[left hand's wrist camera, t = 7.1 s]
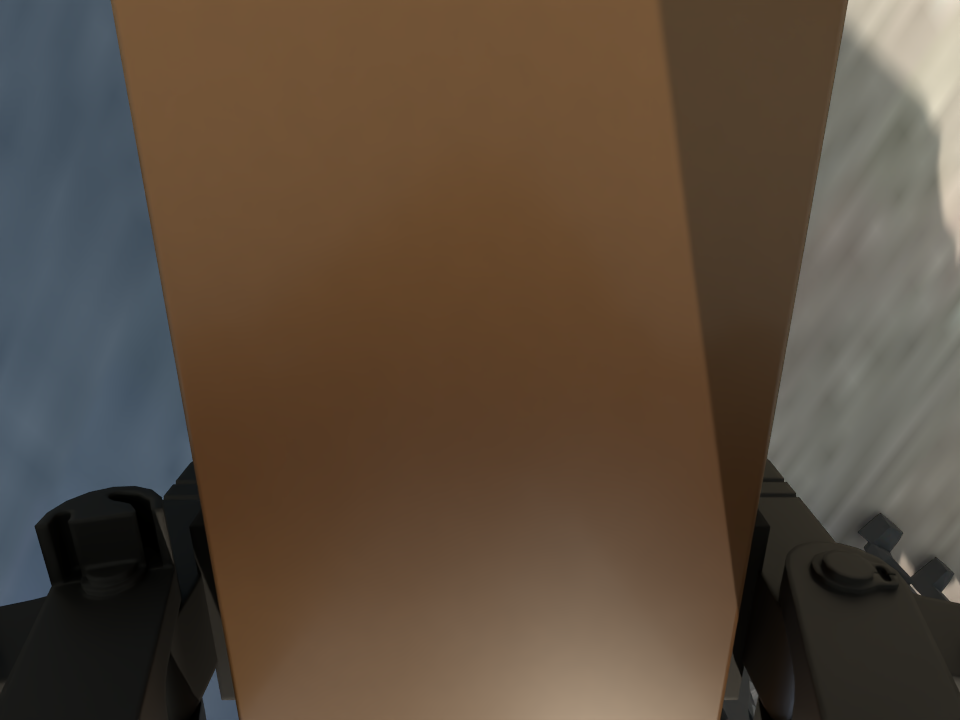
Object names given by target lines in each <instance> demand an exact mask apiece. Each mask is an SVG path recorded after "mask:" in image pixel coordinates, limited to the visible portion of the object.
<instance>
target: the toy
mask: <svg viewBox="0 0 960 720" xmlns="http://www.w3.org/2000/svg"><path fill="white" fill-rule="evenodd" d="M858 533H859V534H861V535H862V536H863V537H864V538H865V539H866V540H867V541H868V543H867V544H866V545H865V547H864V549H865V551H866V552H867V553H869V554H872V555H874V556H876V557H878V558H880V559H881V560H883V561H884V562H885V563H887V564H888V565H890V566H891V567H892V568H894V569H895V570H897V571H898V573H899V574H900V575H901V577H902V578H903V579H904V580H905V582H906V583H907V584H908V586H909V588H910V590H911V592H912V593H914V594H917V593H916V592H915V591H914V590H913V588H912V587H911V586H910V584H912V585H913V586H914V587H915V589H916V590H917V591H918V592H919V593H920V594H921V595H922V596H925V597H930V598H935V599H940V600H945V601H949V600H948V599H947V598H946V597H945V596H944V594H943V593H942V591H943V589H944V588H945V587H946V585H947V584H948V583H949V582H950V580H951V578H952V577H953V575H954V573H953V572H952V571H951V570H950V569H949V568H948V567H947V566H946V565H945V564H944V563H943V562H941V561H940V560H939V559H938V558H936V557H935V558H934V559H933V560H932V561H930V562H929V563H928V564H927V565H925V566H924V567H923V568H922V569H920V570H919V571H918V572H917V573H915V574H914V575H913V576H912V577H910V576H909V575H908V574H907V573H906V572H905V571H904V570H903V569H902V568H901V567H900V566H899V565H898V563H897V562H896V561H895V560H894V559H893V558H892V556H891V553H890V551H891V550H892V549H893V547H894V546H895V545H896V544H897V542H898V541H899V540H900V538H901V536H902V534H903V532H902V531H901V530H900V529H899V528H898V527H897V526H896V525H895V524H894V523H893V522H891V521H890V520H889V519H888V518H886V517H885V516H884V515H883V514H881V513H880V514H878V515H877V516H876V517H875V518H874V519H873V520H871V521H870V522H869V523H868V524H867V525H865V526H864V527H863V528H862V529H861V530H860V531H858ZM949 602H950V601H949ZM757 699H758V694H757V692H756V690H755V687H754V685H753V683H752V681H751V679H750V677H749V675H748V673H747V670H746V668H745V666H744V670H743V675H742V681H741V686H740V691H739V697H738V700H724V701H723V706H722V712H721V718H720V720H753V719H754V714H755V709H756V704H757Z"/></svg>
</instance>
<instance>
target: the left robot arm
mask: <svg viewBox="0 0 960 720" xmlns="http://www.w3.org/2000/svg"><path fill="white" fill-rule="evenodd" d="M35 529H36V533H37V536H38V540H39V543H40V547H41V550H42V554H43V557H44V561H45V564H46V568H47V571H48V574H49V578H50V581H51V585H52V587H51V589H50V591H49V593H48V595H47V596H46V597H42V598H38V599H34V600H30V601H25V602H20V603H15V604H10V605H6V606H1V607H0V720H206V715H205V709H204V704H203V699H202V696H203V694H204V692H205V690H206V688H207V686H208V684H209V681H210V679H211V677H212V675H213V673H214V671H215V669H216V672H217V678H218V683H219V688H220V694H221V699H222V700H236V699H235V694H234V688H233V683H232V677H231V671H230V666H229V660H228V655H227V649H226V643H225V638H224V632H223V627H222V621H221V615H220V610H219V604H218V599H217V593H216V587H215V582H214V576H213V571H212V565H211V559H210V554H209V548H208V542H207V537H206V531H205V526H204V520H203V514H202V509H201V503H200V498H199V492H198V486H197V481H196V475H195V470H194V464H193V462H191V463H190V464H189V465H188V467H187V468H186V469H185V470H184V472H183V473H182V474H181V475H180V477H179V478H178V479H177V480H176V484H173V485H172V487H171V488H170V489H169V490H168V491H167V493H166V494H165V495H164V500H162V497H161V496H159V495H158V494H157V493H156V492H154V491H153V490H151V489H146V488H142V487H137V486H124V487H111V488H106V489H101V490H97V491H92V492H88V493H86V494H83V495H81V496H78V497H76V498H73V499H70V500H68V501H66V502H64V503H62V504H61V505H59V506H57V507H56V508H54V509H53V510H51V511H49V512H48V513H46V514H45V516H44V517H43V518H42V519H41V520H40V521H39V522H38V523H37V524H36V525H35ZM744 666H745V668H746V670H747V673H748V675H749V677H750V679H751V681H752V683H753V685H754V687H755V690H756V692H757V694H758V699H757V704H756V709H755V714H754V719H753V720H960V604H959V603H954V602H949V601H945V600H940V599H935V598H930V597H925V596H922V595H918V594H914V593H912V592H911V590H910V588H909V586H908V584H907V583H906V582H905V580H904V579H903V578H902V577H901V575H900V574H899V573H898V571H897V570H895V569H894V568H892V567H891V566H890V565H888V564H887V563H885V562H884V561H883V560H881V559H880V558H878V557H876V556H874V555H872V554H869V553H867V552H865V551H863V550H861V549H858V548H856V547H852V546H848V545H844V544H840V543H836V542H835V541H834V540H833V538H832V537H831V536H830V535H829V534H828V532H827V531H826V530H825V529H824V527H823V526H822V525H821V524H820V522H819V521H818V520H817V519H816V517H815V516H814V515H813V514H812V513H811V511H810V510H809V509H808V508H807V506H806V505H805V504H804V503H803V501H802V500H801V499H800V498H799V497H796V493H795V492H794V490H793V489H792V488H791V487H790V485H789V484H788V483H787V482H784V478H783V477H782V476H781V474H780V473H779V472H778V471H777V469H776V468H775V467H774V466H773V464H772V463H771V462H770V461H769V460H768V459H766V465H765V471H764V476H763V482H762V487H761V493H760V499H759V504H758V510H757V515H756V521H755V527H754V532H753V538H752V544H751V549H750V555H749V560H748V566H747V572H746V577H745V583H744V588H743V594H742V600H741V605H740V611H739V617H738V622H737V628H736V633H735V639H734V645H733V650H732V656H731V661H730V667H729V673H728V678H727V684H726V690H725V695H724V700H738V697H739V691H740V686H741V681H742V675H743V670H744Z"/></svg>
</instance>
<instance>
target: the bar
mask: <svg viewBox="0 0 960 720" xmlns="http://www.w3.org/2000/svg"><path fill="white" fill-rule="evenodd" d="M111 4H112V10H113V16H114V21H115V27H116V32H117V38H118V44H119V49H120V55H121V60H122V66H123V72H124V77H125V83H126V88H127V94H128V100H129V105H130V111H131V116H132V122H133V128H134V133H135V139H136V144H137V150H138V156H139V161H140V167H141V172H142V178H143V184H144V189H145V195H146V201H147V206H148V212H149V217H150V223H151V229H152V234H153V240H154V245H155V251H156V257H157V262H158V268H159V273H160V279H161V285H162V290H163V296H164V301H165V307H166V313H167V318H168V324H169V329H170V335H171V341H172V346H173V352H174V357H175V363H176V369H177V374H178V380H179V386H180V391H181V397H182V402H183V408H184V414H185V419H186V425H187V430H188V436H189V442H190V447H191V453H192V458H193V464H194V470H195V475H196V481H197V486H198V492H199V498H200V503H201V509H202V514H203V520H204V526H205V531H206V537H207V542H208V548H209V554H210V559H211V565H212V571H213V576H214V582H215V587H216V593H217V599H218V604H219V610H220V615H221V621H222V627H223V632H224V638H225V643H226V649H227V655H228V660H229V666H230V671H231V677H232V683H233V688H234V694H235V699H236V705H237V711H238V716H239V720H720V718H721V712H722V706H723V701H724V695H725V690H726V684H727V678H728V673H729V667H730V661H731V656H732V650H733V645H734V639H735V633H736V628H737V622H738V617H739V611H740V605H741V600H742V594H743V588H744V583H745V577H746V572H747V566H748V560H749V555H750V549H751V544H752V538H753V532H754V527H755V521H756V515H757V510H758V504H759V499H760V493H761V487H762V482H763V476H764V471H765V465H766V459H767V454H768V448H769V442H770V437H771V431H772V426H773V420H774V414H775V409H776V403H777V397H778V392H779V386H780V381H781V375H782V369H783V364H784V358H785V353H786V347H787V341H788V336H789V330H790V324H791V319H792V313H793V308H794V302H795V296H796V291H797V285H798V280H799V274H800V268H801V263H802V257H803V251H804V246H805V240H806V235H807V229H808V223H809V218H810V212H811V207H812V201H813V195H814V190H815V184H816V178H817V173H818V167H819V162H820V156H821V150H822V145H823V139H824V133H825V128H826V122H827V117H828V111H829V105H830V100H831V94H832V89H833V83H834V77H835V72H836V66H837V60H838V55H839V49H840V44H841V38H842V32H843V27H844V21H845V16H846V10H847V4H848V0H111Z"/></svg>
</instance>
